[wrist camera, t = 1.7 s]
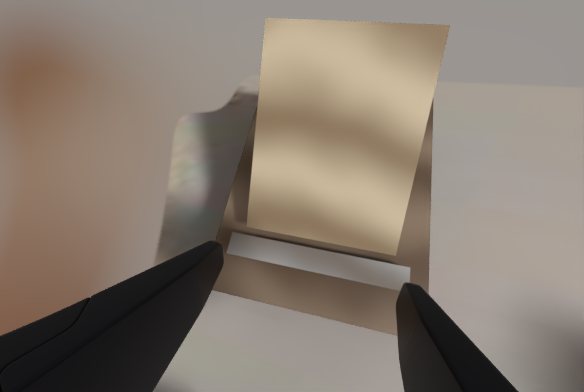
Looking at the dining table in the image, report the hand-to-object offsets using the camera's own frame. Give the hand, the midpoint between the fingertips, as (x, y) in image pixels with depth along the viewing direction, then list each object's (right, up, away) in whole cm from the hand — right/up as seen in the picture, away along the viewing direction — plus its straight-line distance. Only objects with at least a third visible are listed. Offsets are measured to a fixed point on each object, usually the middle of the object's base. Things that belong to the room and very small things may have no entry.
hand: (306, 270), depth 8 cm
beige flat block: (+3, +2, +15) cm, 15 cm away
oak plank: (+2, +6, +8) cm, 10 cm away
